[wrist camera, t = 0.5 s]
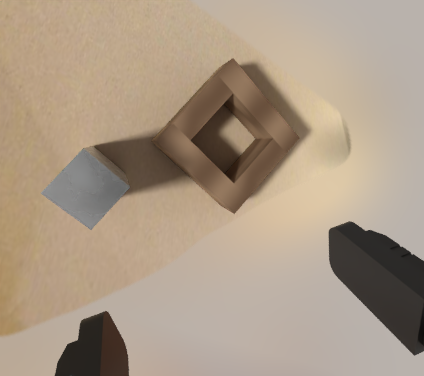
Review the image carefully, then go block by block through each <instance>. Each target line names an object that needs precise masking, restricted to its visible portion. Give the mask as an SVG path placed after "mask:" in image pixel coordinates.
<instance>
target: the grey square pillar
mask: <svg viewBox="0 0 424 376" xmlns="http://www.w3.org/2000/svg"><path fill="white" fill-rule="evenodd" d="M129 188H130V185H129V182H128V180H127V177H126V174H125V173H124V172H123V171H122V170H121V169H120V168H119V167H117V166H116V165H115V164H114V163H113V162H111V161H110V160H109V159H108V158H107V157H106V156H104V155H103V154H102V153H101V152H100V151H98V150H97V149H96V148H95V147H94V146H90V147H86V148H83V149H82V150H81V151H80V153H79V154H78V155H77V156H76V157H75V158H74V159H73V160H72V161H71V162H70V163H69V164H68V165H67V166H66V167H65V168H64V169H63V170H62V171H61V173H60V174H59V175H58V176H57V177H56V178H55V179H54V180H53V181H52V182H51V183H50V184H49V185H48V186H47V187H46V188H45V189H44V190H43V191H42V192H41V194H42V195H44V196H45V197H46V198H48V199H49V200H51V201H52V202H53V203H55V204H56V205H57V206H59V207H60V208H62V209H63V210H64V211H66V212H67V213H68V214H70V215H71V216H73V217H74V218H75V219H77V220H78V221H79V222H81V223H82V224H84V225H85V226H86V227H88V228H89V229H90V230H92V228H93V227H94V226H95V225H96V224H97V223H98V222H99V221H100V220H101V219H102V217H103V216H104V215H105V214H106V213H107V212H108V211H109V210H110V209H111V208H112V207H113V205H114V204H115V203H116V202H117V201H118V200H119V199H120V198H121V197H122V196H123V195H124V193H125V192H126V191H127V190H128V189H129Z"/></svg>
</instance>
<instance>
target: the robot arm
mask: <svg viewBox="0 0 424 376" xmlns="http://www.w3.org/2000/svg"><path fill="white" fill-rule="evenodd" d="M329 260H330V265H331V268H332V270H333V272H334V273H335V275H336V276H337V277H338V278H339V279H340V280H341V281H342V282H343V283H344V284H345V285H346V286H347V287H348V289H350V291H351V292H352V293H353V294H354V295H355V296H356V297H357V298H358V299H359V300H360V301H361V302H362V303H363V304H364V305H365V306H366V307H367V308H368V309H369V310H370V311H371V312H372V313H373V314H374V315H375V316H376V317H377V318H378V319H379V320H380V321H381V322H382V323H383V324H384V325H385V326H386V327H387V328H388V329H389V330H390V331H391V332H392V333H393V334H394V335H395V336H396V337H397V338H398V339H399V340H400V341H401V343H403V344H404V345H405V346H406V348H407V349H408V350H409V351H410V352H411V353H412V354H413V355H417V354H419V353H421V352H423V351H424V261H423V260H421V259H420V258H418V257H417V256H415V255H414V254H413V255H412V254H411V252H409V251H408V250H406V249H405V248H403V247H400V245H399V244H398V243H396V242H394V241H393V240H392V239H390V238H389V237H387V236H385V235H383V234H380V233H377V232H374V231H372V230H368V231H365V230H363V229H362V228H361V227H359V226H358V225H356V224H355V223H353V222H347V223H344V224H341V225H339V226H336V227H333V228H331V229H330V230H329ZM55 376H129V367H128V354H127V349H126V346H125V343H124V340H123V338H122V337H121V335H120V333H119V331H118V329H117V327H116V325H115V324H114V322H113V320H112V318H111V316H110V314H109V313H108V312H107V311H105V312H102V313H100V314H97V315H94V316H91V317H89V318H86V319H83V320H82V321H81V323H80V329H79V336H78V340H77V341H75V342H72V343H69V344H67V346H66V348H65V350H64V352H63V354H62V355H61V357H60V359H59V361H58V363H57V368H56V373H55Z"/></svg>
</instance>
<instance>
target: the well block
mask: <svg viewBox="0 0 424 376" xmlns="http://www.w3.org/2000/svg"><path fill="white" fill-rule="evenodd" d="M223 104H225V105H226V106H227V107H228V109H229V110H230V111H231V112H232V113H233V114H234V115H235V116H236V117H237V118H238V120H239V121H240V122H241V123H242V124H243V125H244V126H245V127H246V128H247V129H248V131H249V132H250V133H251V134H252V135H253V136H254V137H255V138H256V139H255V140H254V141H253V142H252V144H251V145H250V146H249V147H248V148H247V149H246V150H245V152H244V153H243V154H242V155H241V156H240V157H239V158H238V159H237V161H236V162H235V163H234V164H233V165H232V166H231V167H230V169H229V170H228V171H227V172H226V173H225V174H224V173H223V172H222V171H221V170H220V169H219V168H218V167H217V166H216V165H215V164H214V163H213V162H212V161H211V160H210V159H209V158H208V157H207V156H206V155H205V154H204V153H203V152H202V151H201V150H200V149H199V148H198V147H196V146H195V145H194V144H193V143H192V142H191V141H190V140H191V139H192V138H193V137H194V136H195V135H196V134H197V133H198V131H199V130H200V129H201V128H202V127H203V126H204V125H205V124H206V123H207V122H208V120H209V119H210V118H211V117H212V116H213V115H214V114H215V113H216V112H217V110H218V109H219V108H220V107H221V106H222V105H223ZM298 139H299V137H298V135H297V134H296V133H295V132H294V131H293V129H292V128H291V127H290V126H289V125H288V123H287V122H286V121H285V120H284V119H283V117H282V116H281V115H280V114H279V113H278V111H277V110H276V109H275V108H274V107H273V105H272V104H271V103H270V102H269V101H268V99H267V98H266V97H265V96H264V95H263V93H262V92H261V91H260V90H259V89H258V87H257V86H256V85H255V84H254V83H253V81H252V80H251V79H250V78H249V77H248V75H247V74H246V73H245V72H244V71H243V69H242V68H241V67H240V66H239V65H238V63H237V62H236V61H235V60H234V59H231V60H230V61H228V62H227V63H225V64H224V65H222V66H221V67H219V68H218V69H217V70H216V72H215V73H214V74H213V75H212V76H211V77H210V78H209V79H208V80H207V81H206V82H205V83H204V85H203V86H202V87H201V88H200V89H199V90H198V91H197V92H196V93H195V94H194V95H193V96H192V98H191V99H190V100H189V101H188V102H187V103H186V104H185V105H184V106H183V107H182V108H181V109H180V110H179V112H178V113H177V114H176V115H175V116H174V117H173V118H172V119H171V120H170V121H169V122H168V123H167V125H166V126H165V127H164V128H163V129H162V130H161V131H160V132H159V133H158V134H157V135H156V136H155V138H154V139H153V140H152V142H153V143H154V144H155V145H156V146H157V147H158V148H159V149H160V150H161V151H163V152H164V153H165V154H166V155H167V156H168V157H169V158H170V159H171V160H172V161H173V162H174V163H175V164H177V165H178V166H179V167H180V168H181V169H182V170H183V171H184V172H185V173H186V174H187V175H188V176H190V177H191V178H192V179H193V180H194V181H195V182H196V183H197V184H198V185H199V186H200V187H201V188H202V189H204V190H205V191H206V192H207V193H208V194H209V195H210V196H211V197H212V198H213V199H214V200H215V201H217V202H218V203H219V204H220V205H221V206H222V207H224V208H226V209H227V210H229V211H231V212H232V213H234V214H235V213H236V211H237V210H238V209H239V208H240V207H241V206H242V204H243V203H244V202H245V201H246V200H247V199H248V197H249V196H250V195H251V194H252V193H253V192H254V190H255V189H256V188H257V187H258V186H259V185H260V183H261V182H262V181H263V180H264V179H265V178H266V176H267V175H268V174H269V173H270V172H271V171H272V169H273V168H274V167H275V166H276V165H277V164H278V162H279V161H280V160H281V159H282V158H283V157H284V155H285V154H286V153H287V152H288V151H289V150H290V148H291V147H292V146H293V145H294V144H295V143H296V141H297V140H298Z"/></svg>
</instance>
